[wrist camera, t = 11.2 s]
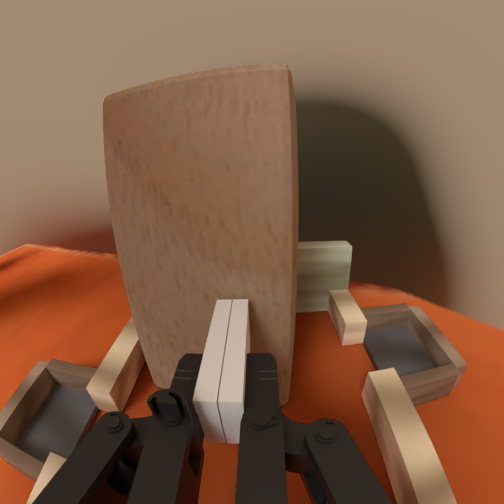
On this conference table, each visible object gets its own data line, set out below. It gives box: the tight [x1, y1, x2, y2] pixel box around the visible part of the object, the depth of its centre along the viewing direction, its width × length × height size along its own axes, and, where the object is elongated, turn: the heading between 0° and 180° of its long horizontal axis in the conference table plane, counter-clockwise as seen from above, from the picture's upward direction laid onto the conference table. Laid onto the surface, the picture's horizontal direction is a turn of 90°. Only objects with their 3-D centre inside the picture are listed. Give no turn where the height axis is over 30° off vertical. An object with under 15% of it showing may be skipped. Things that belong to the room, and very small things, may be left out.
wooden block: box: [103, 63, 298, 406], centre depth 18 cm, size 10×10×20 cm
